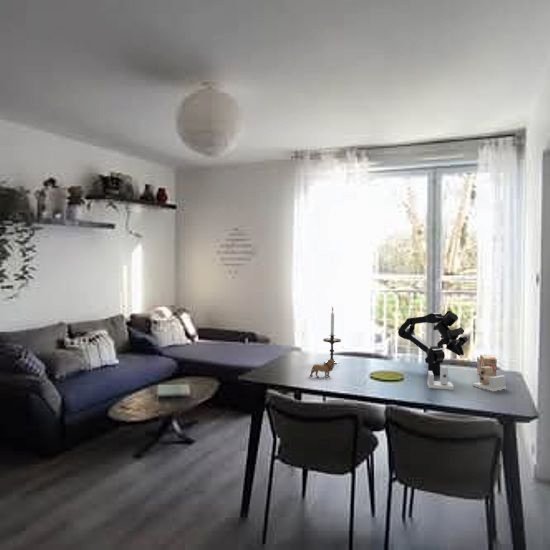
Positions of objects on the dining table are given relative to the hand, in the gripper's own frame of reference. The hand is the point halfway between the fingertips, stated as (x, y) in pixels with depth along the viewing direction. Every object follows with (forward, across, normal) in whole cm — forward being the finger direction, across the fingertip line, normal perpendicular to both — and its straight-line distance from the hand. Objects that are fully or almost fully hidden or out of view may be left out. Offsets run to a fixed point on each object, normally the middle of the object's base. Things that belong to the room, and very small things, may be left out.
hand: (461, 355), depth 254 cm
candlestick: (-39, -33, +59) cm, 78 cm away
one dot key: (+12, -19, +5) cm, 23 cm away
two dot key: (+19, 0, -3) cm, 19 cm away
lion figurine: (-19, -61, +39) cm, 74 cm away
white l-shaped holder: (+22, 0, -2) cm, 22 cm away
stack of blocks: (+10, +20, +10) cm, 25 cm away
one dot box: (+12, -20, +7) cm, 25 cm away
